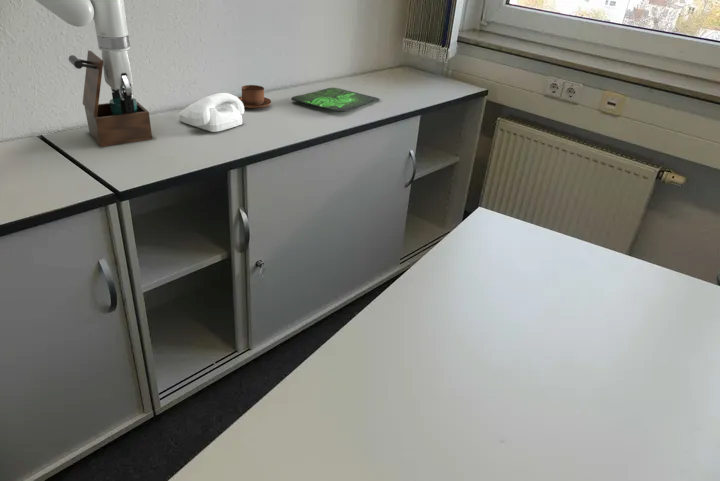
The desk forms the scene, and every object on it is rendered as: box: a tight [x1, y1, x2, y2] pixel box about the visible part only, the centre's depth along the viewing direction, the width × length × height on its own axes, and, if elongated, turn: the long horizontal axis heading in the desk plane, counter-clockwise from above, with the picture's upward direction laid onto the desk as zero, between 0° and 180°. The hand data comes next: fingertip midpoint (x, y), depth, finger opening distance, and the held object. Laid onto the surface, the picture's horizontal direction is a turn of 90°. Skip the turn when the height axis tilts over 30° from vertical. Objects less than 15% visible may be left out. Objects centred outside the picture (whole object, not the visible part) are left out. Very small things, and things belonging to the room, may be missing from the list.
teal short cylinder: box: [108, 97, 138, 115], centre depth 148 cm, size 7×7×3 cm
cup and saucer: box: [237, 84, 272, 110], centre depth 180 cm, size 12×12×6 cm
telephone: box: [178, 92, 245, 133], centre depth 163 cm, size 16×20×9 cm
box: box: [83, 100, 153, 148], centre depth 149 cm, size 14×12×8 cm
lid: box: [68, 49, 103, 117], centre depth 139 cm, size 14×12×6 cm
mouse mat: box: [290, 87, 381, 113], centre depth 192 cm, size 27×22×1 cm
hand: (124, 109), depth 149 cm, fingers closed on teal short cylinder, 6 cm apart
